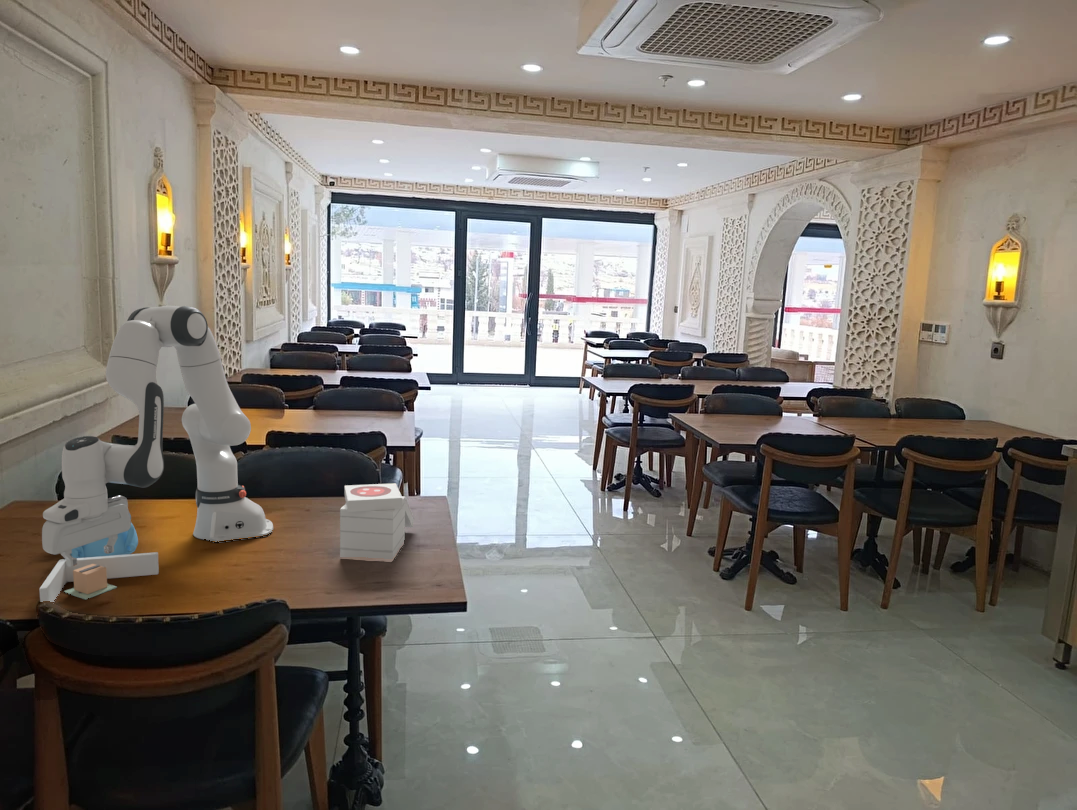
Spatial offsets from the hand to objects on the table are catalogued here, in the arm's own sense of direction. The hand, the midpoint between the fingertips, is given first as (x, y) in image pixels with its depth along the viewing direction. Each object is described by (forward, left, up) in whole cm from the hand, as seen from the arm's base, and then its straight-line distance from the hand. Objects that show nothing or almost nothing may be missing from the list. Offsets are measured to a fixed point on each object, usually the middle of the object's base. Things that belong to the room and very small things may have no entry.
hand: (91, 559), depth 180 cm
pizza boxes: (-71, -15, -8) cm, 73 cm away
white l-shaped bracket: (-3, +1, -8) cm, 8 cm away
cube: (0, 0, -8) cm, 8 cm away
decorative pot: (+2, -22, -8) cm, 23 cm away
